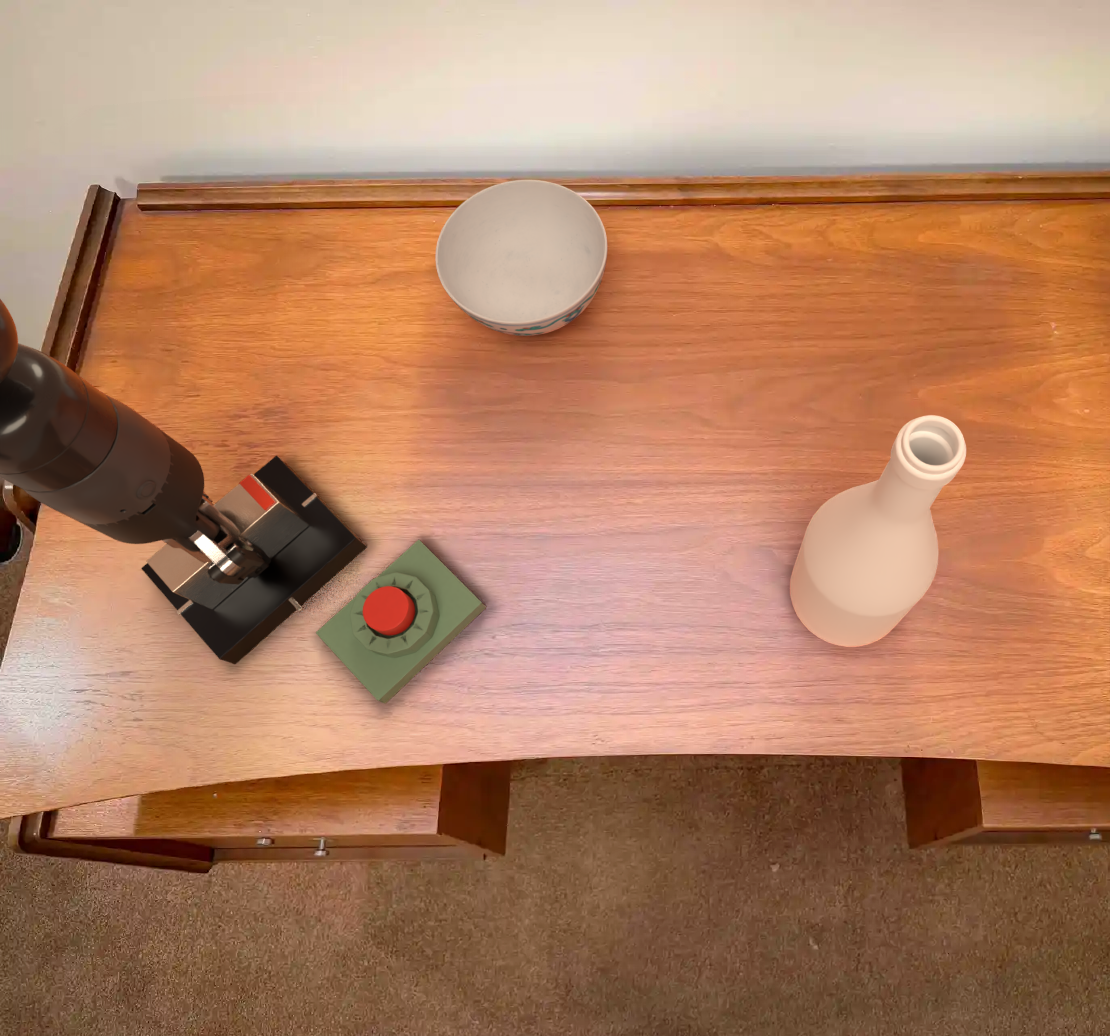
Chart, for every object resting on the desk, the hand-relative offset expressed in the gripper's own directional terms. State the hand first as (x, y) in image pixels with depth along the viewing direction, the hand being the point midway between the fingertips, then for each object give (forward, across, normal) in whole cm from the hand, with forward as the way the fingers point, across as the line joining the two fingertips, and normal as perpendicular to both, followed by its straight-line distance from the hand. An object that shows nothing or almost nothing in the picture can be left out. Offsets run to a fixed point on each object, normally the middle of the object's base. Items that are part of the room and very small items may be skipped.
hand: (243, 549), depth 71 cm
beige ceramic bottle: (+4, +38, +32) cm, 50 cm away
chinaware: (+4, -2, +34) cm, 34 cm away
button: (0, +13, +5) cm, 14 cm away
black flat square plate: (+3, 0, 0) cm, 3 cm away
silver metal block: (+1, 0, 0) cm, 1 cm away
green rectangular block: (+3, +13, +5) cm, 14 cm away
